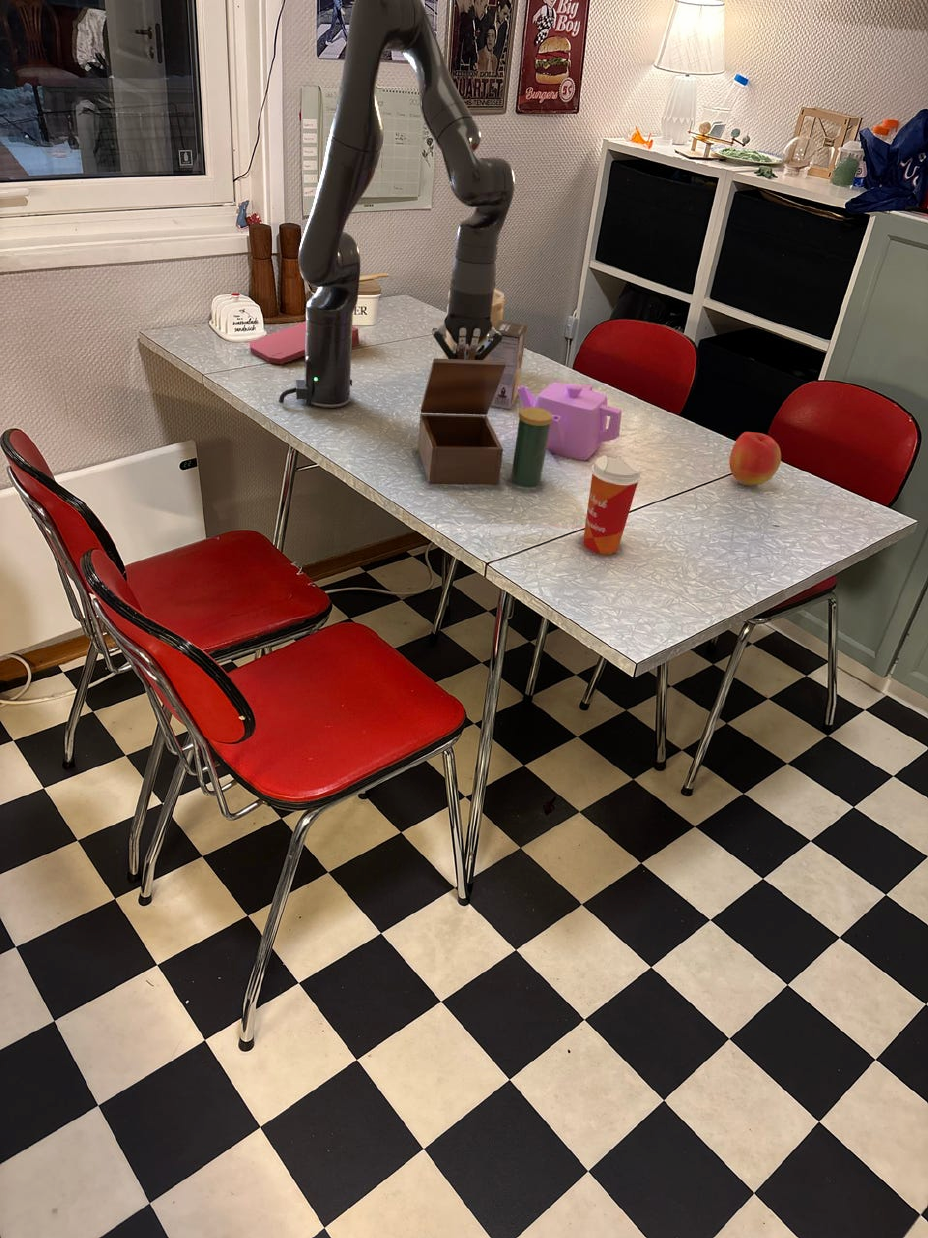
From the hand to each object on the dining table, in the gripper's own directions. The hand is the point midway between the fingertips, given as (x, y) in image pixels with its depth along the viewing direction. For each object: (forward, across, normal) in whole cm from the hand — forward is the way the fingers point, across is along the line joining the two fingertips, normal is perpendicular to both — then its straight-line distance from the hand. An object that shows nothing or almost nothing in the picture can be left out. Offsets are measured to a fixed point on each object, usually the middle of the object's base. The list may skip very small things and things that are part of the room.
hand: (462, 382), depth 172 cm
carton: (+16, +25, -58) cm, 65 cm away
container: (+16, -12, -48) cm, 52 cm away
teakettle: (+16, -24, -8) cm, 30 cm away
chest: (+16, 0, +4) cm, 16 cm away
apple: (+16, -58, +8) cm, 60 cm away
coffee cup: (+16, -20, +32) cm, 40 cm away
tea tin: (+16, -12, +10) cm, 22 cm away
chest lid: (+1, 0, +1) cm, 2 cm away
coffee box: (+16, -16, -30) cm, 38 cm away
